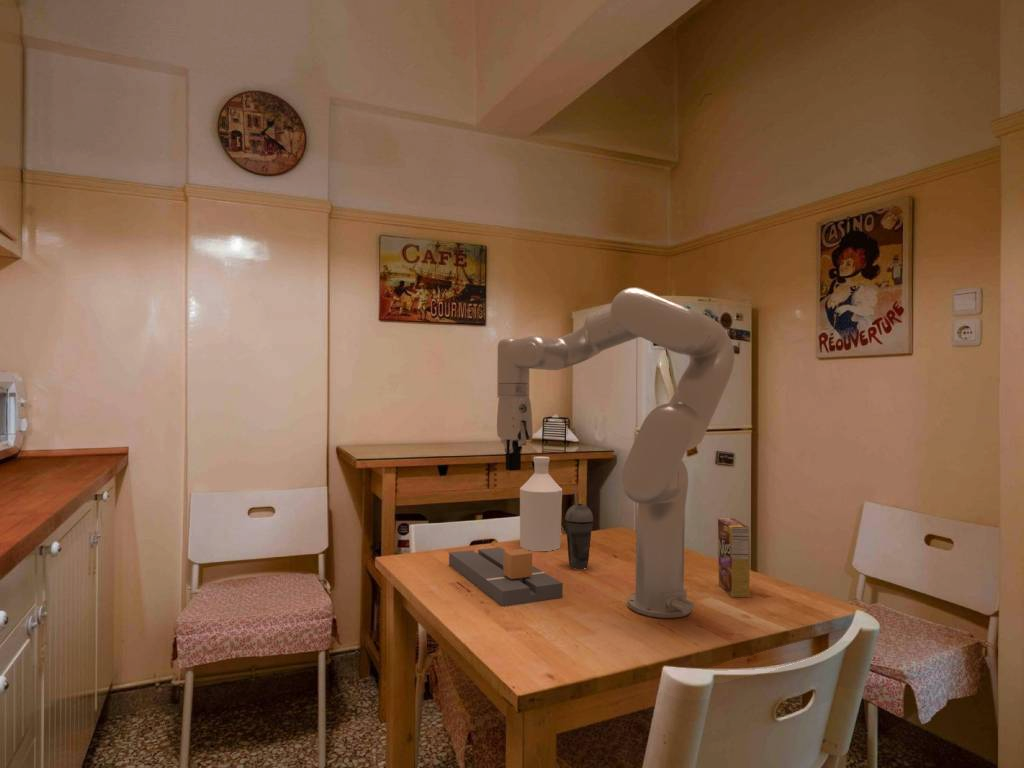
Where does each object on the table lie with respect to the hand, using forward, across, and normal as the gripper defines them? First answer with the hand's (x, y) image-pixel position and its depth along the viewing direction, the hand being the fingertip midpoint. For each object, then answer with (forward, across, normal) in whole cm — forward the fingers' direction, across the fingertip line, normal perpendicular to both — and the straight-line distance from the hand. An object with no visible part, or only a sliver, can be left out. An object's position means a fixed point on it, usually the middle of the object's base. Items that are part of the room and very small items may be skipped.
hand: (513, 469), depth 143 cm
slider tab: (+23, -9, +4) cm, 25 cm away
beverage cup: (+25, +1, -19) cm, 31 cm away
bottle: (+25, +22, -20) cm, 39 cm away
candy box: (+26, -29, -40) cm, 56 cm away
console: (+25, -1, +3) cm, 25 cm away
